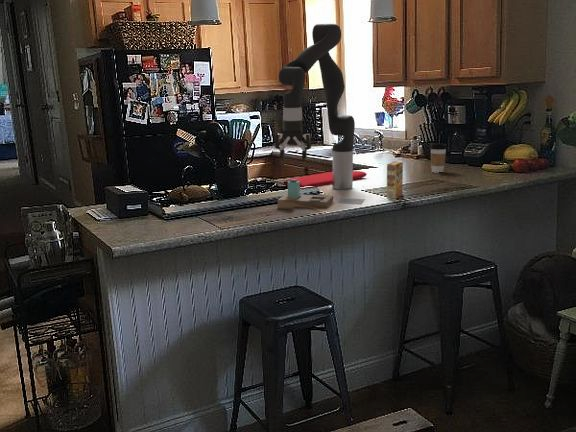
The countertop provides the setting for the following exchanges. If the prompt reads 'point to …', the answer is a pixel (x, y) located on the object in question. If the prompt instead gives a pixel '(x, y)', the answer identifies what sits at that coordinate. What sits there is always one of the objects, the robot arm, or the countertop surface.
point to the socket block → (305, 201)
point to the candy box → (394, 179)
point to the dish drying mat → (322, 178)
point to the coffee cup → (438, 157)
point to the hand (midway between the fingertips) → (293, 159)
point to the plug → (294, 189)
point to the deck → (350, 201)
